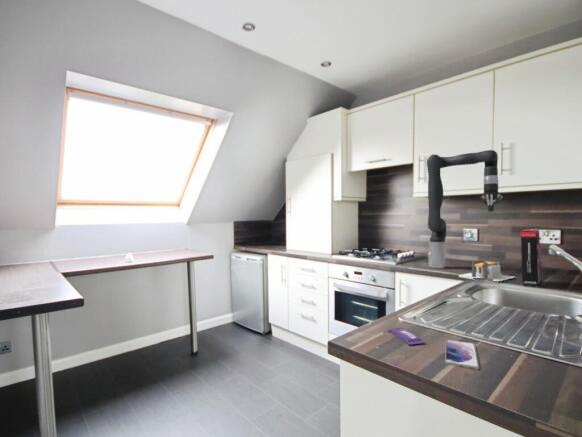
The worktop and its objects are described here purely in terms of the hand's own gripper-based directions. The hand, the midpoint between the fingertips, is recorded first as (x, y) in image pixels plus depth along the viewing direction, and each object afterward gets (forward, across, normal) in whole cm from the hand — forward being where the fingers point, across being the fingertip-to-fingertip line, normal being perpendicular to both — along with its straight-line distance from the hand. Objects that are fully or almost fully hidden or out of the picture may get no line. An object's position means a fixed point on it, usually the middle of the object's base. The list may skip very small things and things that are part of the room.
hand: (491, 211), depth 189 cm
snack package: (+38, +38, -130) cm, 140 cm away
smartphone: (+38, +53, -127) cm, 143 cm away
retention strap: (+29, +8, -16) cm, 34 cm away
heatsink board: (+37, +8, -22) cm, 44 cm away
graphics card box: (+37, +28, -20) cm, 51 cm away
